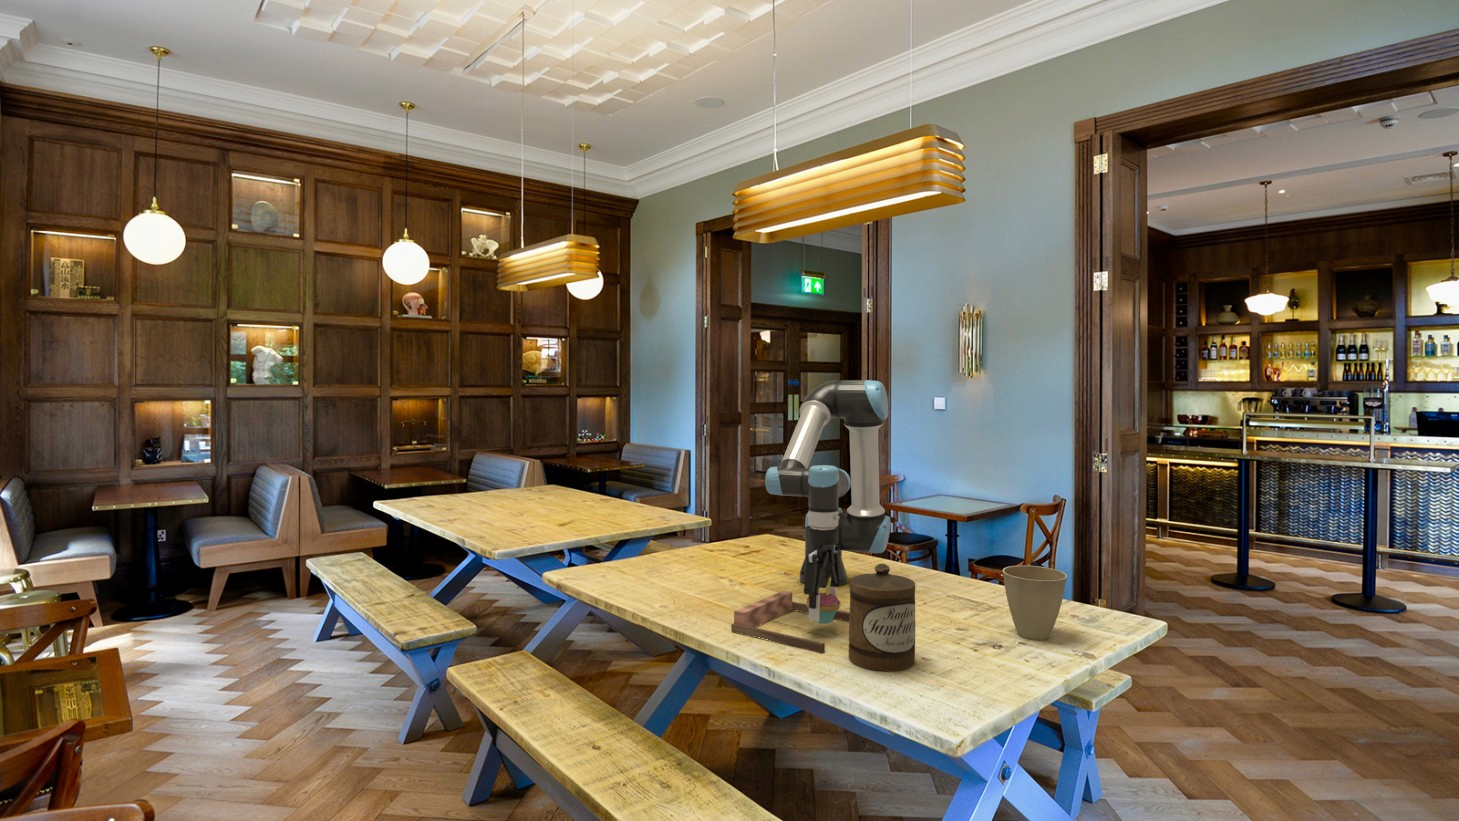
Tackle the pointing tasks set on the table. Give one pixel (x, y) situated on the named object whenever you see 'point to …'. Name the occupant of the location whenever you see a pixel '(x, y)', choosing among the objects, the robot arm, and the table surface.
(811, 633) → the table surface
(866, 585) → the wooden container
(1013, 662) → the table surface
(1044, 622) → the plant pot
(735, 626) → the brown wooden open frame
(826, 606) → the cupcake
